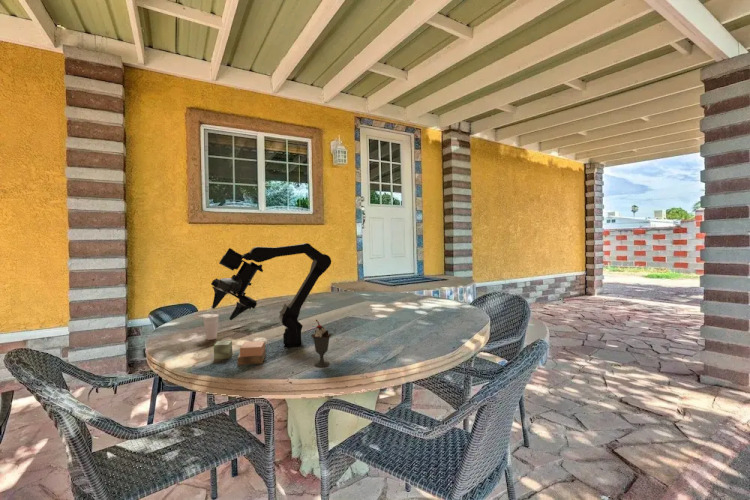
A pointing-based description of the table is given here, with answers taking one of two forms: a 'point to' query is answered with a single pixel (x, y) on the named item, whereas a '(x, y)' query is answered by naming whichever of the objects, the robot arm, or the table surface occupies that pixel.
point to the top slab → (252, 348)
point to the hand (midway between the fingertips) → (221, 313)
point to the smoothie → (211, 325)
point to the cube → (222, 349)
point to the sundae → (321, 344)
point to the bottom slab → (251, 359)
